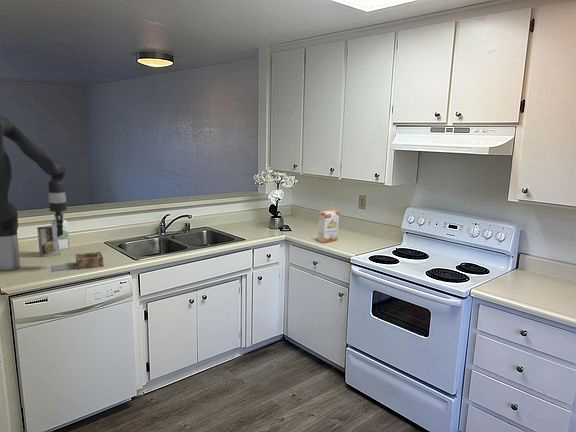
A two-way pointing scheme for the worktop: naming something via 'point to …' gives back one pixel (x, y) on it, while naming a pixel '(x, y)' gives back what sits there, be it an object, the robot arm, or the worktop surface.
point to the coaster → (62, 267)
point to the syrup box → (62, 240)
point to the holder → (89, 260)
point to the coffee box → (46, 242)
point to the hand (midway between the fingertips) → (60, 233)
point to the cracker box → (328, 226)
